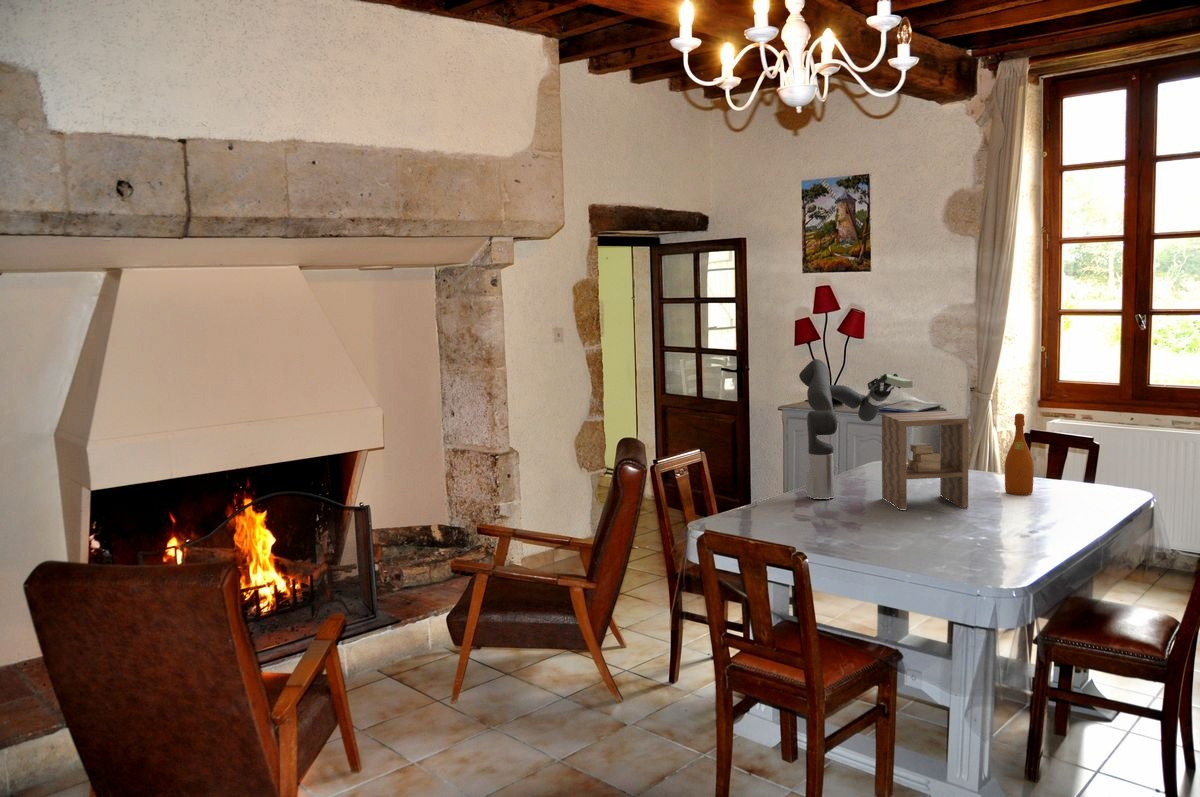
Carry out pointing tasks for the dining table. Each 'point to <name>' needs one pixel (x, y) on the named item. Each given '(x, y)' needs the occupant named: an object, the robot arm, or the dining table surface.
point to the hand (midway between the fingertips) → (891, 376)
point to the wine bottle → (1019, 463)
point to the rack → (925, 456)
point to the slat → (898, 381)
